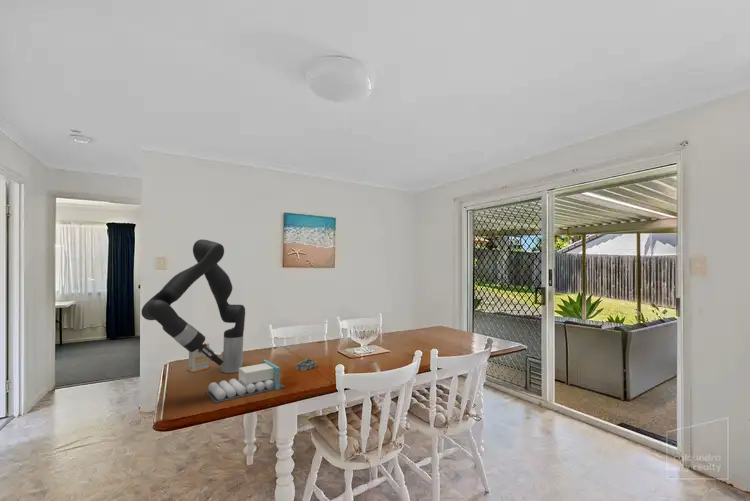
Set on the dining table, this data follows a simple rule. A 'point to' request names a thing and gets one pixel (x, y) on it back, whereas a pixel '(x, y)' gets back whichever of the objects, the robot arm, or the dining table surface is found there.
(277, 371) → the bar
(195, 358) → the supplement box
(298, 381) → the dining table surface
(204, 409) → the dining table surface
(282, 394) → the dining table surface
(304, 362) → the egg carton
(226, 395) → the roller bed
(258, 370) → the slab
